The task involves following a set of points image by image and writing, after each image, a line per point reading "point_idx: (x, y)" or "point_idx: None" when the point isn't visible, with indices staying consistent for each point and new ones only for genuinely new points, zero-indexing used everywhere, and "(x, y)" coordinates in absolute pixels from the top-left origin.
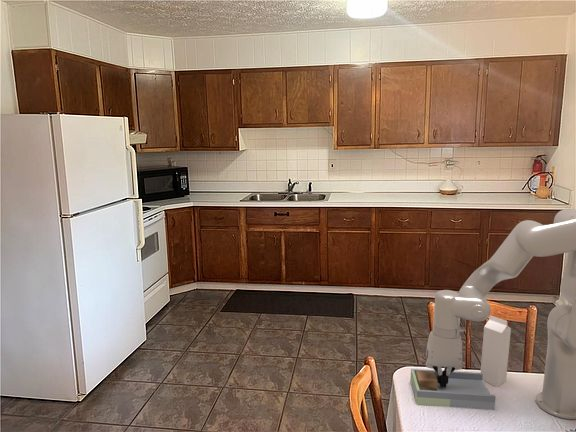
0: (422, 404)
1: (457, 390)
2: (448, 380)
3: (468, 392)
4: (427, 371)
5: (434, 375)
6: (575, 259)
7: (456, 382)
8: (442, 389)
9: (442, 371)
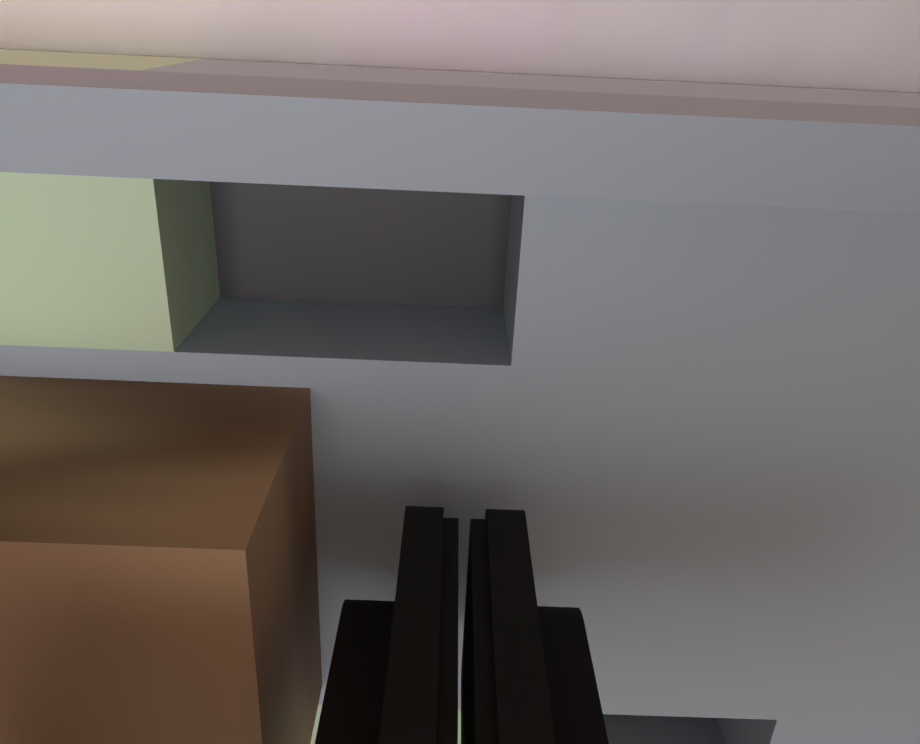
0: None
1: (727, 629)
2: (697, 294)
3: (907, 670)
4: (121, 175)
5: (234, 706)
6: None
7: (853, 368)
8: None
9: (623, 165)
